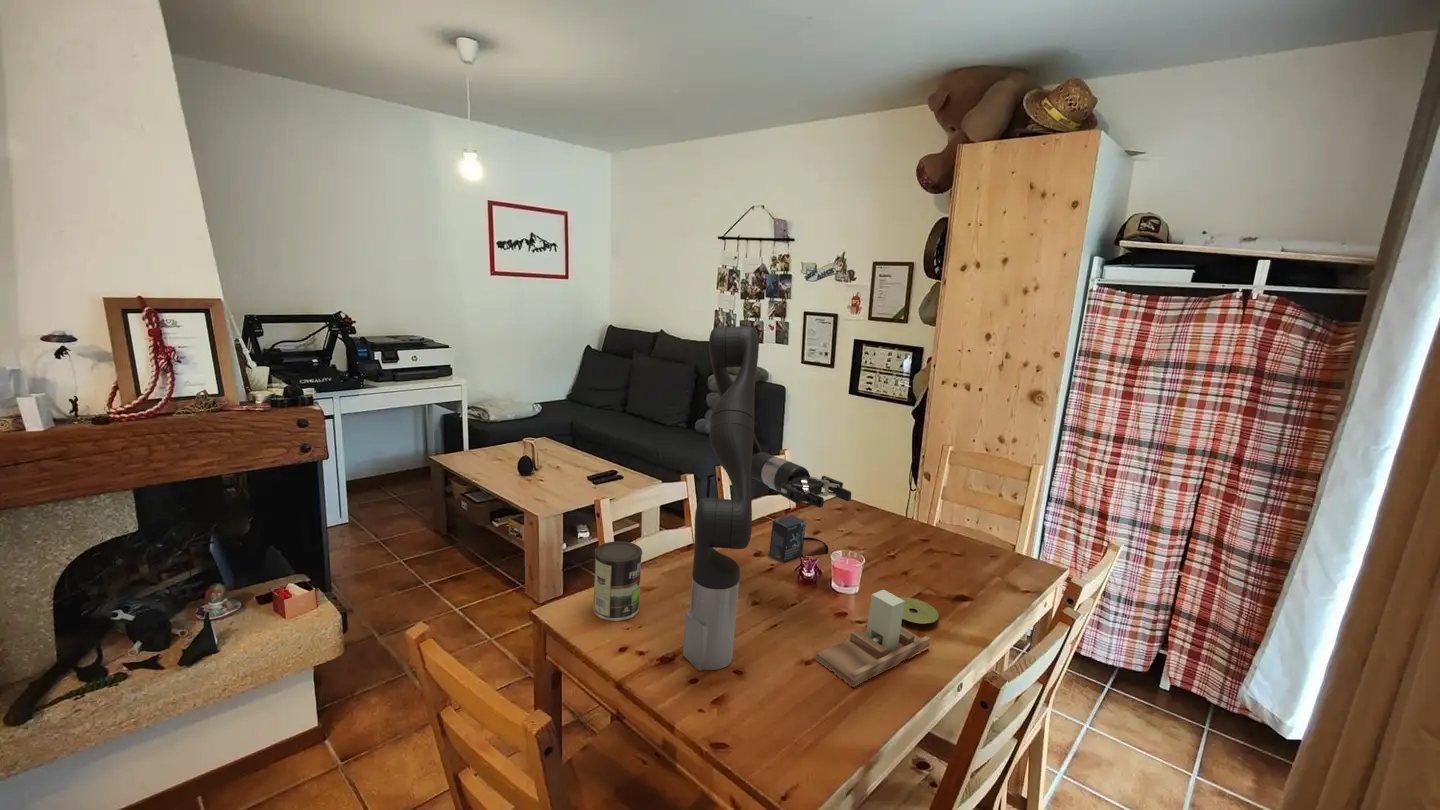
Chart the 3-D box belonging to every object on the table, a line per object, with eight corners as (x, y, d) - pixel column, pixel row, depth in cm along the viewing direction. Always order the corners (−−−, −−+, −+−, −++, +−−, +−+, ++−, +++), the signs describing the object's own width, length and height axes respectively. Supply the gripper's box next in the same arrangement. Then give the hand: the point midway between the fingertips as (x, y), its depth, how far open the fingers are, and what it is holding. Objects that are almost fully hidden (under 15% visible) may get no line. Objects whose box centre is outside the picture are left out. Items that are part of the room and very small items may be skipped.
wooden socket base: (853, 688, 116) (855, 671, 116) (815, 660, 124) (817, 644, 123) (928, 649, 131) (930, 635, 130) (890, 626, 138) (892, 612, 138)
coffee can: (645, 601, 141) (648, 544, 138) (630, 625, 131) (632, 564, 129) (603, 593, 143) (605, 537, 140) (585, 616, 133) (587, 557, 130)
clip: (886, 652, 126) (892, 606, 124) (865, 639, 130) (871, 594, 128) (897, 646, 128) (904, 601, 126) (877, 633, 133) (883, 589, 130)
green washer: (877, 607, 146) (878, 600, 146) (916, 601, 150) (917, 594, 150) (907, 634, 136) (908, 626, 136) (947, 626, 140) (949, 619, 140)
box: (783, 563, 165) (786, 526, 163) (768, 555, 170) (772, 519, 167) (802, 556, 170) (806, 521, 168) (788, 548, 175) (791, 514, 172)
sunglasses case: (768, 532, 184) (779, 513, 185) (784, 540, 188) (794, 522, 188) (805, 558, 169) (817, 537, 169) (820, 566, 173) (832, 546, 173)
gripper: (763, 465, 138) (814, 488, 125) (808, 457, 146) (860, 478, 134) (760, 496, 139) (811, 522, 127) (805, 487, 148) (856, 510, 135)
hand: (836, 499), depth 130 cm, fingers open, 8 cm apart
